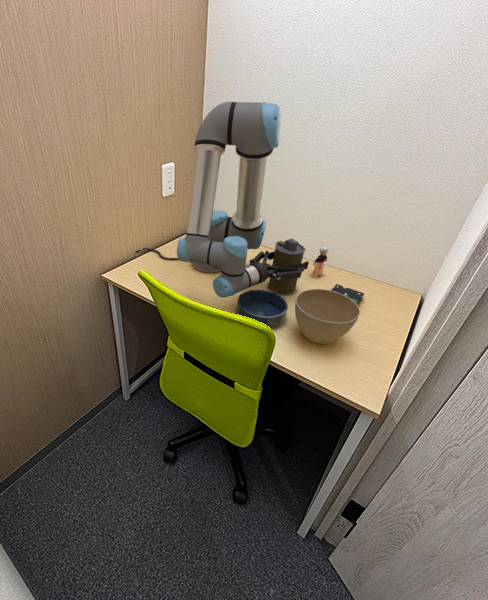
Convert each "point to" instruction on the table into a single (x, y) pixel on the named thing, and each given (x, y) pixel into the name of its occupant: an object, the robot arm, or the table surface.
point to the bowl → (263, 307)
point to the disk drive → (349, 293)
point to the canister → (286, 265)
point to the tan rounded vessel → (325, 314)
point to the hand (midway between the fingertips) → (293, 258)
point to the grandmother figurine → (320, 262)
